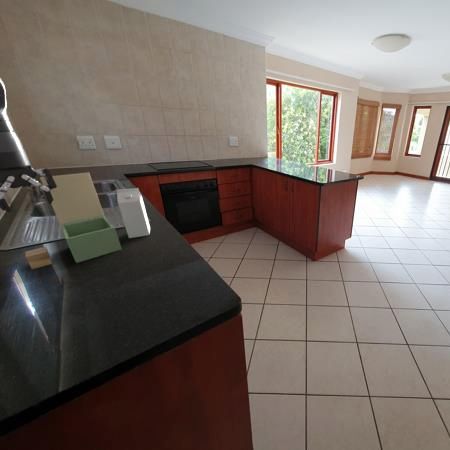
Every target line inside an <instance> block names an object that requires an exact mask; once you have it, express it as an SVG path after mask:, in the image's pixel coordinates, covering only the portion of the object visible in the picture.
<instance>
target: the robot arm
mask: <svg viewBox="0 0 450 450" xmlns="http://www.w3.org/2000/svg"><path fill="white" fill-rule="evenodd" d="M37 175H39V176H40V177H44V178H45V180H46V182H47V184H48V185H46V186H44V185H43V184H42V182H39V181H38V180H36V177H37ZM52 176H53V175H52V173H51V171H50V170H49V169H48V168H45V167H41V168H39V169H34V168H33V167H32V165H31V162H30V160H29V157H28V155H27V152H26V150H25V147H24V145H23V143H22V141H21V139H20V137H19V136H18V134H17V133H16V131H15V128H14V126H13V124H12V121H11V119H10V117H9V113H8V99H7V89H6V85H5V83H4V81H3V79H2V77H0V210H1V211H3V212H6V213H11V212H12V209H11V207H10V206H9V204H8V202H7V199H6V198H4V197H5V195H6V194H7V192H8V191H9V189H18V188H21V187H22V188H27V187H31V185H32V186H34V187H36V188H38V189H40V190H41V193H42V196H43V198H44V200H45V202H46V204H48V205H51V203H52V201H53V197H52V195H51V192H50V190H51V189H53V188H56V187H57V185H56V183H55V181H54V179H53V177H52Z"/></svg>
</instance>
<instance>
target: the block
mask: <svg viewBox="0 0 450 450" xmlns="http://www.w3.org/2000/svg"><path fill="white" fill-rule="evenodd" d="M24 255H25V256H24V257H25V259H26V261H27V263H28V265H29V267H30V268H31V270H35V269H38V268H43V267H46V266H49V265H52V264H53V260H52V257H51V255H50V253H49V251H48V248H47V247H46V246H43V247H40V248H39V247H38V248H35V249H31V250H26V251H25V253H24Z"/></svg>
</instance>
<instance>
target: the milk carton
mask: <svg viewBox="0 0 450 450" xmlns="http://www.w3.org/2000/svg"><path fill="white" fill-rule="evenodd" d="M115 191H116V199H117V206H118V209H119V212H120V214H121V215H120V216H121V218H122V221H123V225H124V228H125V230H126V231H125V232H126V233H127V237H128V239H134V238H140V237H145V236H150V233H151V225H150V220H149V218H148V214H147V211H146V207H145V203H144V200H143V196H142V194H141V192H140V189H139V187H135V188H123V189H116V190H115Z"/></svg>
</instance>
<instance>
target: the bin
mask: <svg viewBox="0 0 450 450" xmlns="http://www.w3.org/2000/svg"><path fill="white" fill-rule="evenodd" d="M60 228H61V231H62V233H63V236H64V239H65V241H66V244H67V245H68V248H69V250H70V252H71V254H72V255H71V256H72V258H73V260H74V261H75V263H76V264H78V263H81V262H84V261H88V260H91V259H95V258H98V257H101V256H104V255H107V254H111V253H114V252H117V251H122V246H121V242H120V239H119V237H118V234H117V231H116V228H115V227H114V225H113V224H112V223H111V222H110V220H108V218H107V217H106V216H105V215H103V216H98V217H94V218H89V219H84V220H79V221H74V222H70V223H65V224H60Z"/></svg>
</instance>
